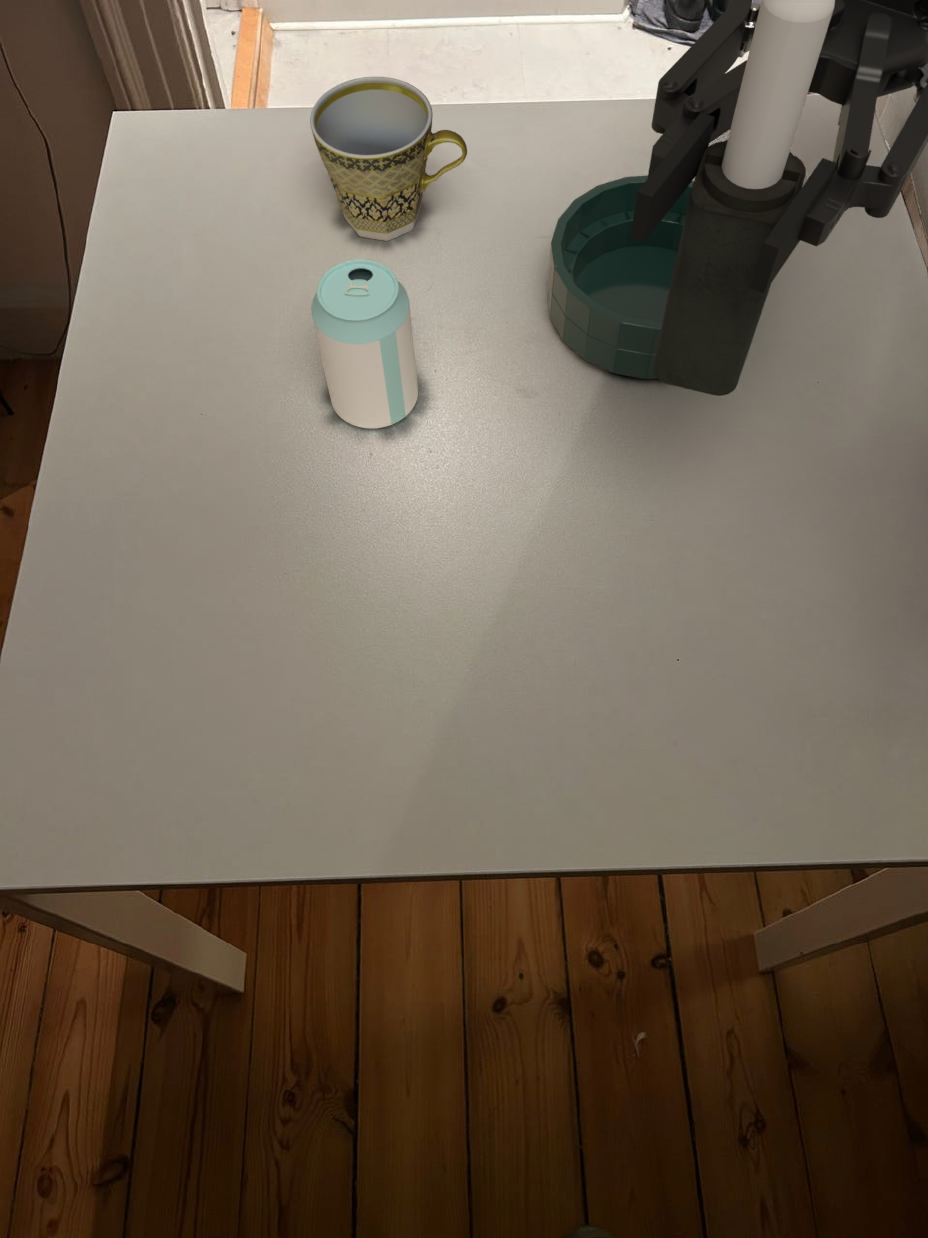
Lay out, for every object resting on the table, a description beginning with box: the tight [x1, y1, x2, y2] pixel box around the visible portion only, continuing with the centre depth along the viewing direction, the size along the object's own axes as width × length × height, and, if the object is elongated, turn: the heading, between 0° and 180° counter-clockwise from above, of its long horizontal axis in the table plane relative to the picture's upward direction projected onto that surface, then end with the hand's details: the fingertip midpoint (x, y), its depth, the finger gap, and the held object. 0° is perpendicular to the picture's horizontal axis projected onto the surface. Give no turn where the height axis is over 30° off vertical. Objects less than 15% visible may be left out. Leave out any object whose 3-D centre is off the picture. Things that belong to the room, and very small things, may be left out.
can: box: [311, 258, 419, 429], centre depth 75 cm, size 7×7×12 cm
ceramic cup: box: [309, 76, 468, 242], centre depth 85 cm, size 13×10×10 cm
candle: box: [653, 0, 835, 397], centre depth 49 cm, size 5×5×25 cm
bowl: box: [546, 174, 694, 380], centre depth 81 cm, size 17×17×6 cm
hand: (701, 241), depth 46 cm, fingers closed on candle, 6 cm apart
